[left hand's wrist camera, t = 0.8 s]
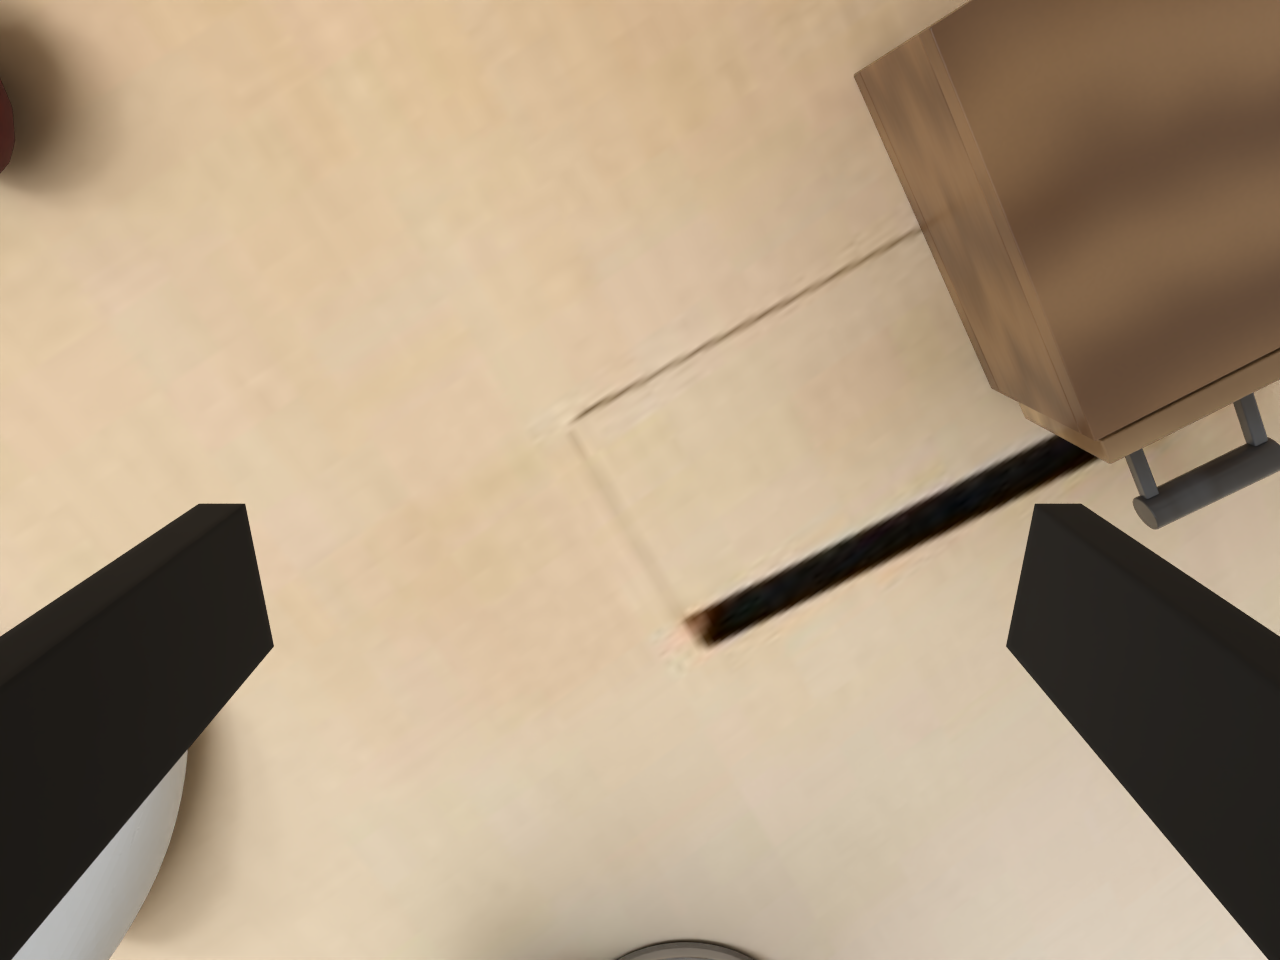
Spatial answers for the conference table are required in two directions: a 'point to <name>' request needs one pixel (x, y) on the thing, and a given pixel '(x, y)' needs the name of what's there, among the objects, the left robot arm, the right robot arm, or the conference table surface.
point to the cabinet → (1096, 191)
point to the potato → (5, 129)
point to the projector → (112, 883)
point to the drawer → (1128, 441)
